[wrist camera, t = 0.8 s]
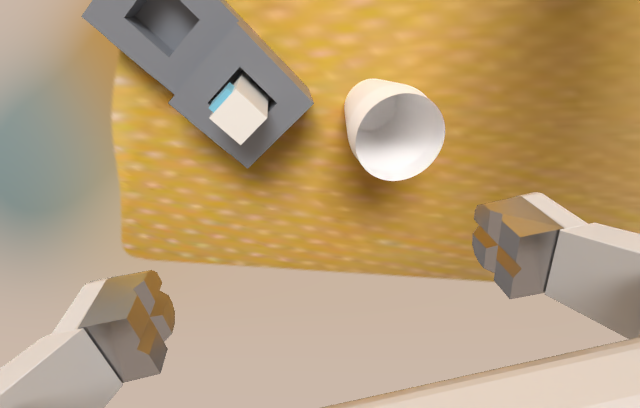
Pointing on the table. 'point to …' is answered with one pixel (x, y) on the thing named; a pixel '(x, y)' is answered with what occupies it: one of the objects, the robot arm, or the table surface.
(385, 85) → the cup
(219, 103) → the plug
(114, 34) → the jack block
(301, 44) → the table surface
